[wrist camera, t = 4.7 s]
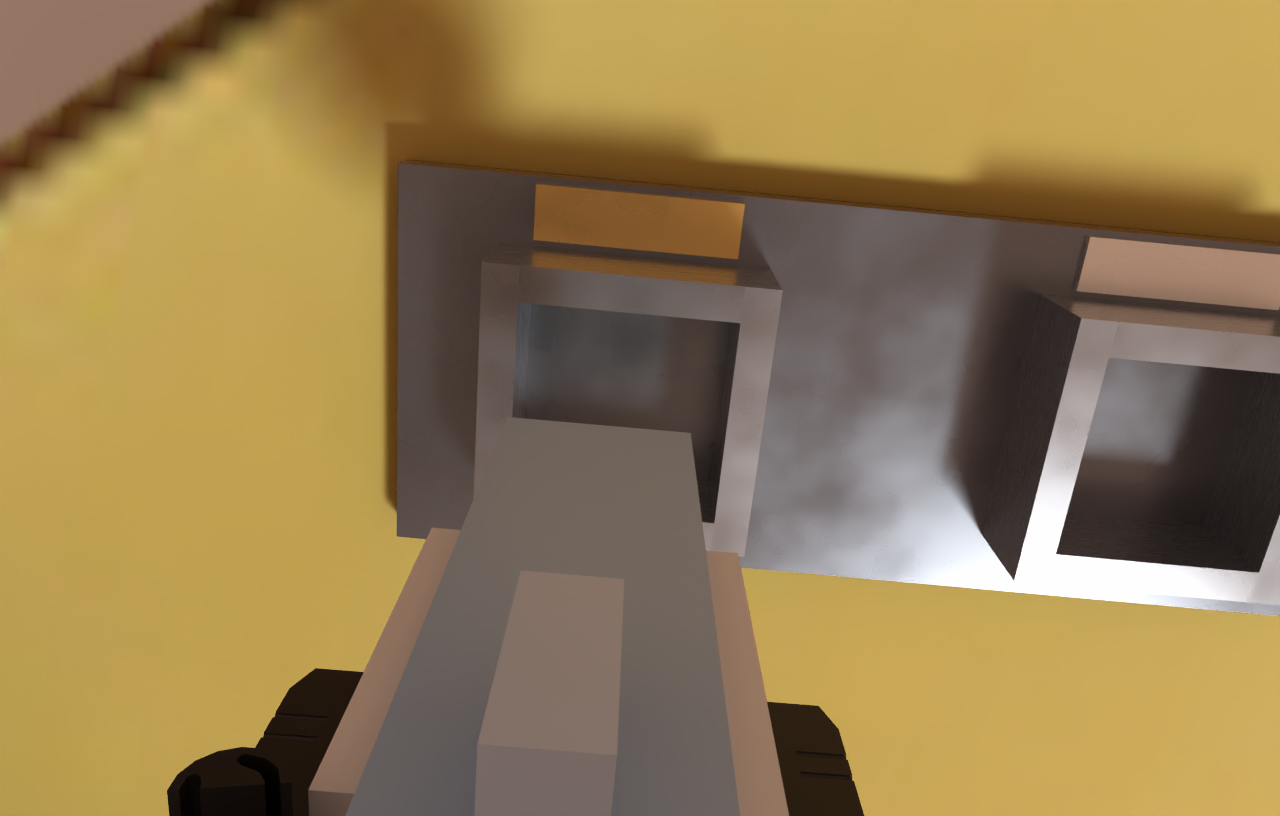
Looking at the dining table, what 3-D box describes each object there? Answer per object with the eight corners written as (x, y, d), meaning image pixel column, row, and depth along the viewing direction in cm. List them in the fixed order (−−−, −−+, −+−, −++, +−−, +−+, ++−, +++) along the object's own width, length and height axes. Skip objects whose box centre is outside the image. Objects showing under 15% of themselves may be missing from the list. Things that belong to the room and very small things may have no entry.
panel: (404, 522, 32) (370, 582, 28) (407, 160, 28) (367, 173, 24) (1277, 601, 32) (1358, 671, 29) (1404, 254, 28) (1518, 283, 25)
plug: (499, 579, 22) (246, 1455, 8) (510, 341, 20) (204, 946, 6) (671, 593, 22) (718, 1482, 8) (699, 357, 20) (822, 991, 6)
